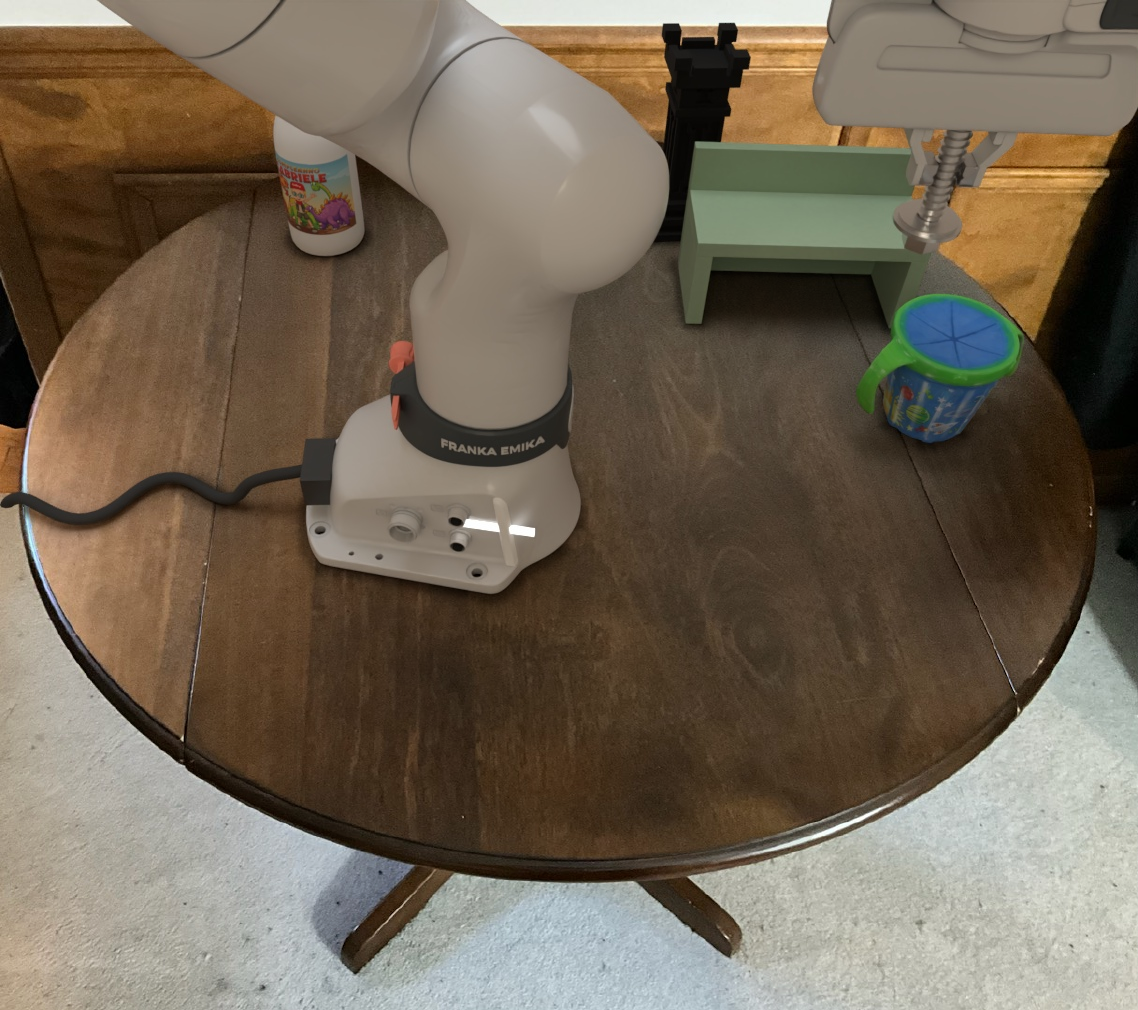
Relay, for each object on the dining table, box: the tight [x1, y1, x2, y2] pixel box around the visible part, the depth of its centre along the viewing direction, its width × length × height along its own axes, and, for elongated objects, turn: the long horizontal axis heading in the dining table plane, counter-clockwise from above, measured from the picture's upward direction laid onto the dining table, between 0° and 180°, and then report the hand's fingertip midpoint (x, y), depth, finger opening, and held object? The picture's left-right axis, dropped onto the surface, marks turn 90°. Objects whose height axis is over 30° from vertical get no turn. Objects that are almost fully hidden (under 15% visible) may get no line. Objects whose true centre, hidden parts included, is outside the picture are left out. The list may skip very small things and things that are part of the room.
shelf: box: [677, 141, 933, 329], centre depth 102 cm, size 22×10×14 cm, turn 91°
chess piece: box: [653, 22, 752, 243], centre depth 107 cm, size 8×8×20 cm
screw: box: [892, 130, 974, 255], centre depth 71 cm, size 13×5×5 cm
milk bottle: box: [272, 115, 365, 257], centre depth 103 cm, size 8×8×20 cm
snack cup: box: [855, 293, 1025, 444], centre depth 92 cm, size 16×10×10 cm
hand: (941, 182), depth 72 cm, fingers closed on screw, 2 cm apart
